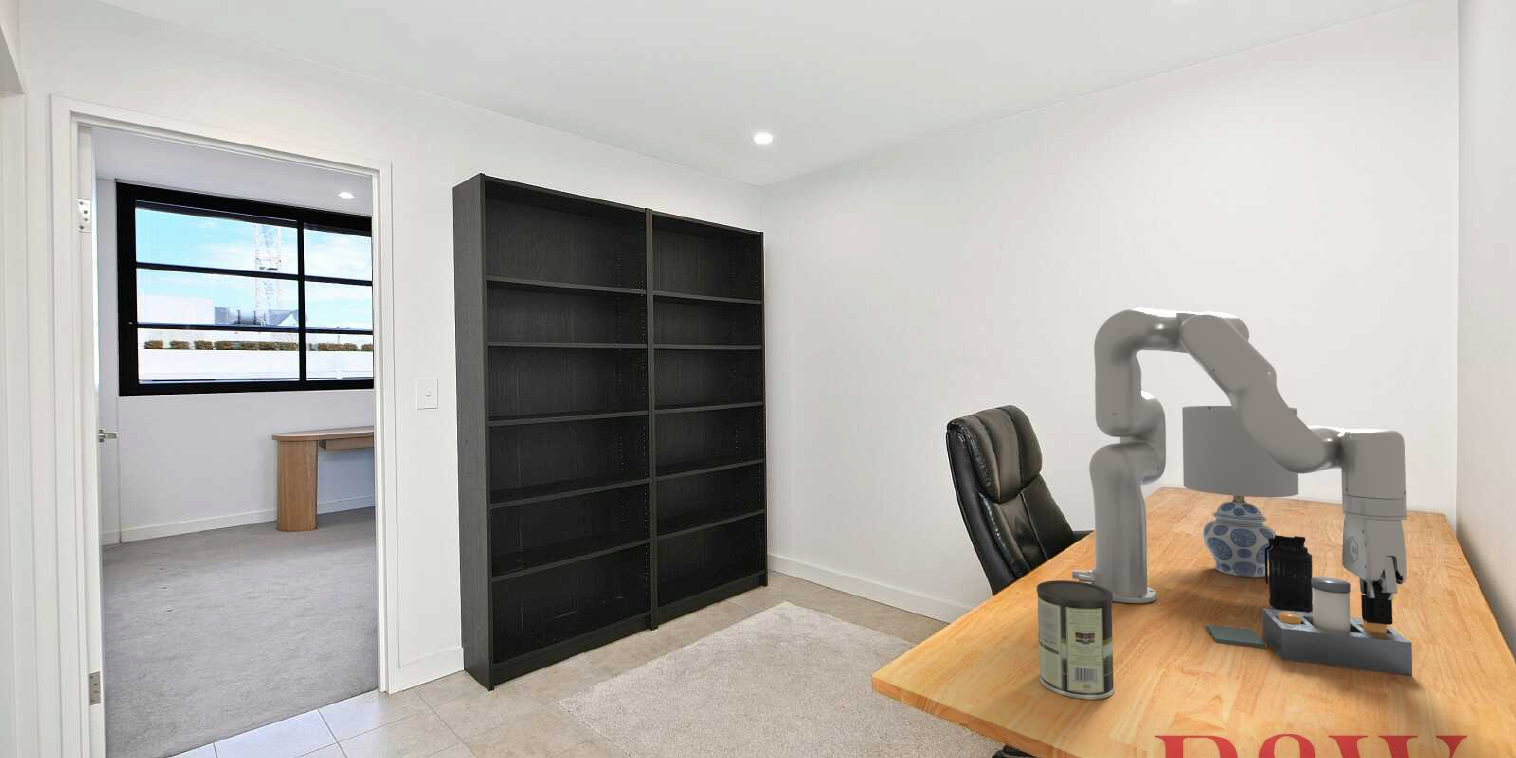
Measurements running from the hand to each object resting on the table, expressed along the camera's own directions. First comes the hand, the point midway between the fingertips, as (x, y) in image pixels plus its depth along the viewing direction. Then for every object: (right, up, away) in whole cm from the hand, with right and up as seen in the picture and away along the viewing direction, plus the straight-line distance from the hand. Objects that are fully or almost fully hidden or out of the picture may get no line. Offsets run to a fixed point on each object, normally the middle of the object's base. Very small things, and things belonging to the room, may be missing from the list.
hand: (1377, 621), depth 105 cm
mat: (-15, -6, +10) cm, 20 cm away
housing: (-5, -6, +2) cm, 8 cm away
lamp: (+13, -6, +48) cm, 50 cm away
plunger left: (-10, -6, +5) cm, 12 cm away
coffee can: (-51, -7, -6) cm, 52 cm away
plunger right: (0, -5, 0) cm, 5 cm away
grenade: (+3, -6, +21) cm, 22 cm away
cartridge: (-5, -6, +2) cm, 8 cm away
